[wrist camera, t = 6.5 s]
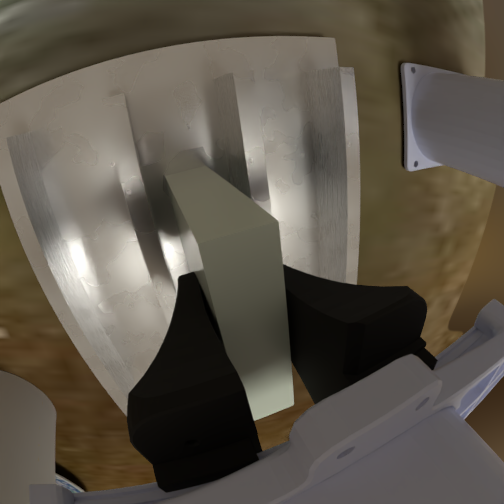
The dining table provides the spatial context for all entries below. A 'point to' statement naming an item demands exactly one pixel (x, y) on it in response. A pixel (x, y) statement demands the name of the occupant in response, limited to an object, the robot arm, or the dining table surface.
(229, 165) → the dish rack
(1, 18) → the dining table surface
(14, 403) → the white cylinder
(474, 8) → the dining table surface
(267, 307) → the grey rectangular block
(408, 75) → the robot arm
